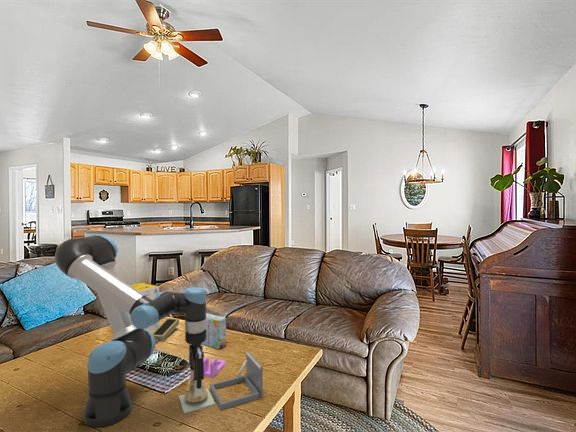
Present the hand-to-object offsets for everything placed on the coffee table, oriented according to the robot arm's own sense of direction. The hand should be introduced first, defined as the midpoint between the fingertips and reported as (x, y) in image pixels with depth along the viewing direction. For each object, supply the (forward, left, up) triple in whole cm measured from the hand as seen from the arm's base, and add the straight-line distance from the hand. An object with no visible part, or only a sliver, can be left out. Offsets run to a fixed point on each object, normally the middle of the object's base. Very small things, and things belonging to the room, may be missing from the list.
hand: (196, 390), depth 123 cm
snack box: (+17, +48, -4) cm, 52 cm away
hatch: (+14, -2, -4) cm, 15 cm away
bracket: (+13, +20, -4) cm, 24 cm away
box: (-2, +70, -4) cm, 70 cm away
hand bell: (0, 0, -2) cm, 2 cm away
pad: (0, 0, -4) cm, 4 cm away
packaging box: (-14, +86, -4) cm, 88 cm away
